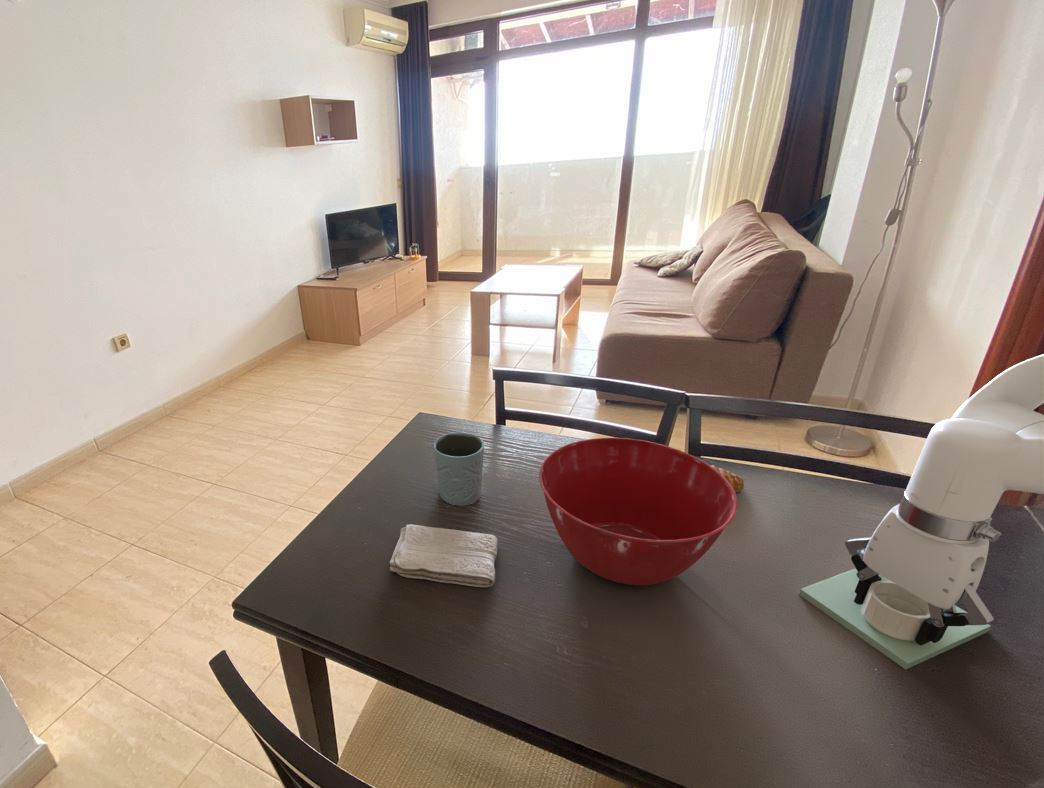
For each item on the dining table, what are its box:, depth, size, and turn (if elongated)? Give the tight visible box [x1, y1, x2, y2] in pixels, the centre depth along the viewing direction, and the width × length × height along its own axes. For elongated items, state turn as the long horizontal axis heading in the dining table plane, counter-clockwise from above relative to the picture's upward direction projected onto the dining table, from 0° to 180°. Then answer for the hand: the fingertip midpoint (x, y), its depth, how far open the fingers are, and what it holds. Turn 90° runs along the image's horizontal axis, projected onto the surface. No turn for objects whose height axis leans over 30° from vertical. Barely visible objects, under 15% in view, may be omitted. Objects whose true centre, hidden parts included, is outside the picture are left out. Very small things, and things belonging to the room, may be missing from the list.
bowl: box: [861, 581, 931, 640], centre depth 73 cm, size 7×7×5 cm
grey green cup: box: [433, 432, 485, 506], centre depth 110 cm, size 10×10×12 cm
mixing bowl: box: [538, 437, 739, 586], centre depth 89 cm, size 28×28×16 cm
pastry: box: [710, 464, 745, 493], centre depth 107 cm, size 9×7×4 cm
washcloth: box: [389, 523, 499, 588], centre depth 94 cm, size 12×18×3 cm, turn 75°
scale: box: [798, 567, 992, 670], centre depth 77 cm, size 16×14×3 cm
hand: (893, 619), depth 74 cm, fingers closed on bowl, 6 cm apart
